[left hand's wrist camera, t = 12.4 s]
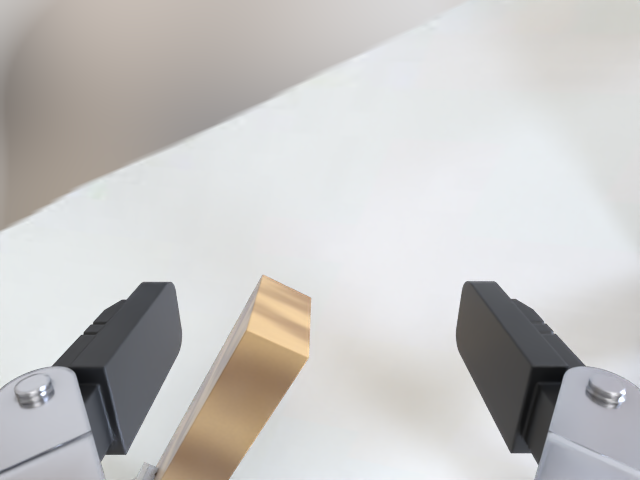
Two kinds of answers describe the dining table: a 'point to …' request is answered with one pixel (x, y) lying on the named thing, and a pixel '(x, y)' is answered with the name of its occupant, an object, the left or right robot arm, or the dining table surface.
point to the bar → (241, 385)
